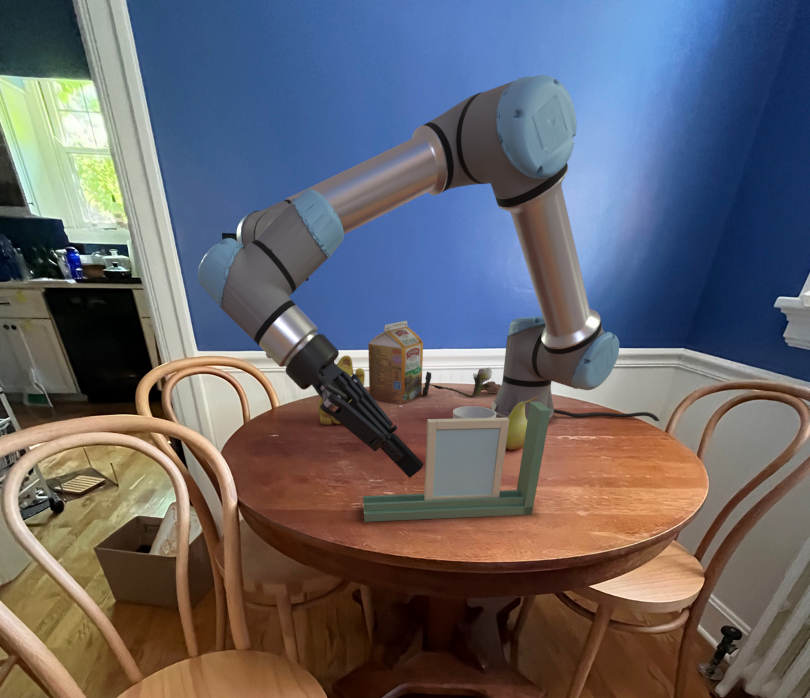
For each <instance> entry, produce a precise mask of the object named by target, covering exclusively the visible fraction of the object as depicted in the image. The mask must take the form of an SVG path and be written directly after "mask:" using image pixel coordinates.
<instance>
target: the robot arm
mask: <svg viewBox="0 0 810 698" xmlns="http://www.w3.org/2000/svg"><path fill="white" fill-rule="evenodd" d="M576 135H577V114H576V110H575V105H574V102H573V99H572V97H571V95H570V92H569V91H568V90H567V88H566V86H564V84H563V83H562V82H561V81H559V80H558V79H556V78H554V77H552V76H550V75H548V74H547V75H545V74H539V75H535V76H523V77H519V78H517V79H515V80H512V81H510V82H507V83H505V84H502V85H499V86H496V87H494V88H491V89H489V90H485V91H481V92H478V93H475V94H473V95H470V96H469V97H467V98H465V99H464V100H462V101H460V102H458V103H456V105H453V106H452V107H451V108H449V109H448V110H447V111H444V112H442V113H441V114H440V115H438V116H437V117H435V118H433V119H431V120H430V121H428V122H426V123H424V124H422V125H420V126H417V127H416V128H415V130H414V131H413V133H412V135H411V138H410V139H409V140H406V141H404V142H402V143H400V144H398V145H396V146H393V147H391V148H390V149H387V150H385V151H383V152H381V153H378V154H377V155H375V156H372V157H371V158H369V159H366V160H364V161H362V162H360V163H358V164H356V165H354V166H351V167H349V168H347V169H345V170H343V171H341V172H339V173H337V174H335V175H333V176H330V177H328V178H327V179H324V180H322V181H321V182H318V183H316V184H314V185H312V186H310V187H308V188H306V189H303V190H302V191H299V192H297V193H295V194H292V195H291V196H289V197H286V198H285V199H284V200H282V201H278V202H277V203H275V204H272V205H270V206H268V207H266V208H264V209H261V210H254V211H251V212H250V213H248V214H247V215H245V216H243V218H242V219H241V220H240V221H239V223H238V225H237V228H236V239H235V238H232V237H227V238H223V239H222V240H221V241H220V242H219V243H216V244H214V245H213V246H212V247H211V248H210V249H209V250H208V251H207V252H206V253H205V255H204V256H203V258H202V260H201V262H200V263H199V266H198V269H197V278H198V283H199V285H200V286H201V288H203V289H204V290H205V292H206V293H207V295H209V296H210V297H211V299H213V300H214V302H215V303H216V304H217V305H218V306H219V308H220V309H221V310H222V311H223V312H224V313H225V314H226V315H227V316H228V317H229V318H230V319H231V320H232V321H234V323H235V324H236V325H237V326H239V328H240V329H241V330H243V331H244V333H245V334H247V336H248V337H250V339H251V340H253V342H255V343H256V344H257V346H259V347H260V348H261V349H262V350H263V351H264V352H265V356H266V358H267V359H271V360H273V362H274V363H275V364H276V365H277V366H278V367H279V368H284V367H285V374H286V375H287V376H288V378H289V379H291V380H292V381H293V382H294V383H295V384H296V385H297V387H298V388H300V389H301V390H307V389H309V388H310V387H312V388H314V390H315V392H316V393H317V394H318V396H319V397H322V398H323V400H324V402H323V403H322V404H321V405H320V408H321V409H322V410H323V411H324V412H326V413H327V414H329V415H331V416H332V417H334V418H335V419H336V420H338V421H339V422H340V424H341V425H342V426H343V427H344V428H346V430H348V431H349V432H350V433H352V434H353V435H354V436H355V437H357V438H358V440H360V441H361V442H363V444H365V445H367V447H369V448H370V449H371V450H372V451H373V452H377V451H378V450H379V449H381V451H383V453H384V454H385V455H386V456H387V457H388V458H389V459H390V460H391V461H392V462H393V463H394V464H395V465H396V466H397V467H398V468H399V469H400V470H401V471H402V472H403V473H404V474H405V475H406V477H408V478H409V479H411V478H412V477H413V476H415V474H417V473H418V472H420V470H422V469H423V468H424V465H425V464H424V462H423V461H421V459H420V458H419V457H418V456H417V455H416V454H415V453H414V452H413V451H412V449H410V447H408V445H406V444H405V442H404V441H403V440H402V439H401V438H400V437H399V436H398V434H396V433H395V432H396V431H397V430H398V426H397V424H394V423H393V421H392V420H391V419H390V417H389V416H388V415H387V414H386V412H385V411H384V410H383V408H382V407H381V406H380V405H379V404H378V402H377V401H376V399H374V398H373V397H372V396H371V395H370V394H369V390H367V388H366V387H365V385H364V386H363V385H362V383H361V381H360V380H359V378H358V376H357V375H356V374H355V373H354V374H353V375H352V376H351V377H350V376H349V375H348V374H347V373H346V372H345V371H343V370H342V369H341V368H339V367H338V366H337V365H335V364H336V363H335V361H336V360H337V359H338V357H339V355H340V351H339V349H337V347H336V346H335V345H334V344H333V343H332V342H331V341H330V340H329V338H328V337H327V336H326V335H325V334H324V333H318V326H317V325H316V323H314V322H313V321H312V319H310V318H309V317H308V315H306V313H305V312H304V311H303V310H302V309H301V308H300V307H299V306H298V305H297V304H296V303H295V302H294V301H293V300H292V299H291V298H290V296H291V295H292V294H293V293H294V292H295V291H296V290H297V289H299V287H300V286H301V285H303V283H304V282H306V281H307V280H308V279H309V277H311V276H312V275H313V274H314V273H315V272H316V271H317V270H318V269H319V268H320V267H321V266H322V265H323V264H324V263H325V262H326V261H327V260H328V259H330V258H331V257H332V255H333V254H334V253H335V252H336V250H337V249H338V248H339V247H340V245H341V244H342V243H343V241H344V238H345V235H346V234H348V233H350V232H352V231H353V230H356V229H358V228H359V227H362V226H363V225H366V224H368V223H370V222H371V221H374V220H376V219H378V218H379V217H381V216H383V215H386V214H387V213H389V212H391V211H394V210H395V209H397V208H399V207H401V206H404V205H405V204H407V203H409V202H411V201H413V200H415V199H417V198H419V197H421V196H423V195H425V194H426V193H427V194H429V195H431V196H438V195H440V194H442V193H444V192H445V191H448V190H451V189H455V188H461V187H467V186H473V185H486V184H487V185H488V184H490V186H491V189H492V191H493V194H494V198H495V201H496V204H497V207H498V208H499V209H501V210H504V211H507V212H509V213H510V215H511V216H510V217H511V219H512V222H513V225H514V228H515V232H516V235H517V238H518V242H519V245H520V249H521V252H522V255H523V258H524V261H525V264H526V268H527V271H528V273H529V278H530V281H531V284H532V287H533V290H534V293H535V297H536V301H537V303H538V306H539V311H540V313H541V316H524V317H523V316H522V317H515V318H513V319H512V320H511V321H510V324H509V326H508V333H507V335H506V344H505V353H504V354H505V355H504V364H503V374H502V382H501V384H500V385H501V387H500V389H499V390H498V393H496V396H495V398H494V400H492V404H491V405H490V407H491V409H492V410H494V411H495V412H496V418H506V417H508V416H509V415H510V413H511V412H512V410H513V408H514V407H515V406H516V405H517V404H518V403H520V402H525V401H527V400H530V399H532V398H534V397H535V396H538V398H537V399H536V400H533V401H530V402H541V403H542V404H543V405H545V406H546V407H547V408H548V409H550V410H551V411H550V417H549V422H548V423H550V422H552V421H553V419H554V414H557V415H562V416H567V417H573V418H588V417H611V418H624V419H626V418H636V417H649V418H651V419H652V420H653V421H655V422H660V418H659V417H658V416H657V415H656V414H654V413H651V412H648V411H640V412H639V411H638V412H632V413H617V412H616V413H615V412H603V411H602V412H601V411H598V412H597V411H592V412H584V413H583V412H582V413H577V412H570V411H566V410H561V409H555V408H554V402H553V394H552V382H553V383H557V384H560V385H563V386H566V387H569V388H572V389H574V390H584V391H591V390H594V389H596V388H598V387H600V386H601V385H602V384H603V383H604V382H605V381H606V380H607V379H608V378H609V376H610V375H611V373H612V372H613V370H614V368H615V365H616V363H617V360H618V358H619V353H620V341H619V338H618V336H617V335H616V334H614V333H612V332H610V331H606V332H605V330H604V328H603V324H602V320H601V316H600V314H599V311H596V310H595V309H592V308H590V305H589V300H588V295H587V291H586V287H585V283H584V278H583V274H582V269H581V265H580V262H579V256H578V253H577V252H578V251H577V248H576V243H575V239H574V235H573V229H572V226H571V221H570V217H569V211H568V208H567V205H566V204H567V203H566V199H565V195H564V191H563V186H562V183H563V182H564V180H565V178H566V177H567V174H568V172H569V166H568V161H569V160H570V158H571V156H572V153H573V150H574V148H575V142H574V140H573V139H574V137H575V136H576ZM350 400H351V401H350ZM349 401H350V402H349ZM348 402H349V403H348ZM530 402H528V403H526V404H525V417H526V419H527V420H528V414H529V407H530Z"/></svg>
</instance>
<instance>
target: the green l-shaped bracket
mask: <svg viewBox="0 0 810 698" xmlns="http://www.w3.org/2000/svg"><path fill="white" fill-rule="evenodd" d="M550 411H551V410H550V409H548V408H547V407H546V406H545V405H543V404H542V403H541V402H530V407H529V414H528V420H527V427H526V433H525V440H524V446H523V448H522V454H521V459H520V466H519V472H518V479H517V486H516V489H507V490H506V489H505V490H500V494H499V498H475V499H450V500H425V501H424V493H406V494H405V493H403V494H381V495H380V494H378V495H362V510H363V521H364V523H370V522H371V523H372V522H373V523H374V522H392V521H414V520H415V521H416V520H437V519H461V518H462V519H463V518H482V517H483V518H484V517H505V516H531V515H533V511H534V507H535V500H536V495H537V488H538V483H539V478H540V473H541V466H542V461H543V456H544V449H545V444H546V438H547V433H548V427H549V423H550V422H549V417H550Z"/></svg>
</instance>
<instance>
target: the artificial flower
mask: <svg viewBox="0 0 810 698" xmlns="http://www.w3.org/2000/svg"><path fill="white" fill-rule="evenodd" d="M492 375H493V372H492V368H491V367H485V368H479V369H478V371H477V373H475V372H473V374H472V376H473V380H474V388H473V391H472V394H468V393H465V392H462V391H459V390H457V389H454V388H452V387H446V386H441V385H436V384H431V381H432V380H431V379H432V372H430V371H428V370H426V375H425V382H424V386H422V392H421V396H424V397H425V396H426V397H427V396H428V393H429V389H430V386H431V387H434V388H435V389H438V390H448V391H452V392H455V393H458V394H460V395H463V396H465V397H468V398H473V397H475V396H478V395H480V394H481V393H482V392H483V391H486V392H487V393H495V394H498V392H499V389H500V387H501V385H502V384H500V383H496V382H495V381H489V380H490V379H492Z"/></svg>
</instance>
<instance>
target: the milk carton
mask: <svg viewBox="0 0 810 698" xmlns="http://www.w3.org/2000/svg"><path fill="white" fill-rule="evenodd" d="M367 345H368V347H367V348H368V349H367V350H368V385H369V387H368V389H369V390H368V392H369V394H370V395H371V396H372V397H373V399H374V400H380V401H384V402H389V403H390V402H391V403H395V404H400V405H401V404H405V403H407V402H410V401H412V400H414V399H416V398H418V397H421V396H422V393H423V360H424V359H423V358H424V357H423V356H424V341H423V340H422V338H420V336H419V335H418V334H417V333H416V332H415V331H414V330H412V329H411V328H410V327H409V326H408V321H407V320H402V321H399V322H397V321H396V322H394V323H388V324H385V325H384V331H382V332H380V333H379V334H377V335H376V336H374V337H373V338H372V339H371V340H370V341H369V342H368V344H367Z"/></svg>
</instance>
